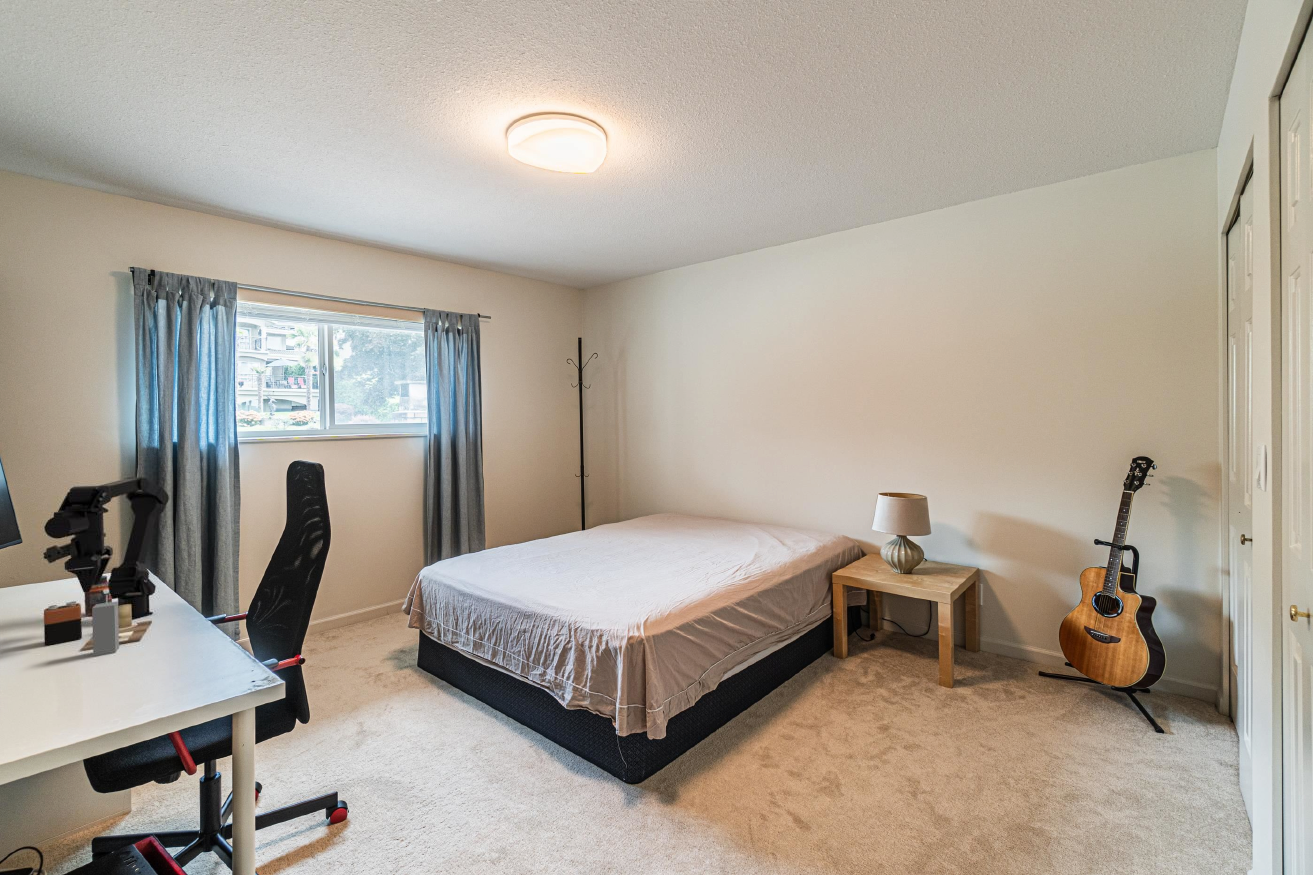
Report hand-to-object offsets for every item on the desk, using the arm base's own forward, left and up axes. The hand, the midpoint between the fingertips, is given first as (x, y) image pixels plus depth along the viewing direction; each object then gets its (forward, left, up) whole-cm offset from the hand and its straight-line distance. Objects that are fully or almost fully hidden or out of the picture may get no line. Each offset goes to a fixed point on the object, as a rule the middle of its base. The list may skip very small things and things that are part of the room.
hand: (91, 588), depth 154 cm
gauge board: (-2, +8, -13) cm, 15 cm away
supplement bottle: (-13, -23, -13) cm, 30 cm away
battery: (+5, -2, -13) cm, 14 cm away
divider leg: (+7, +19, -13) cm, 24 cm away
